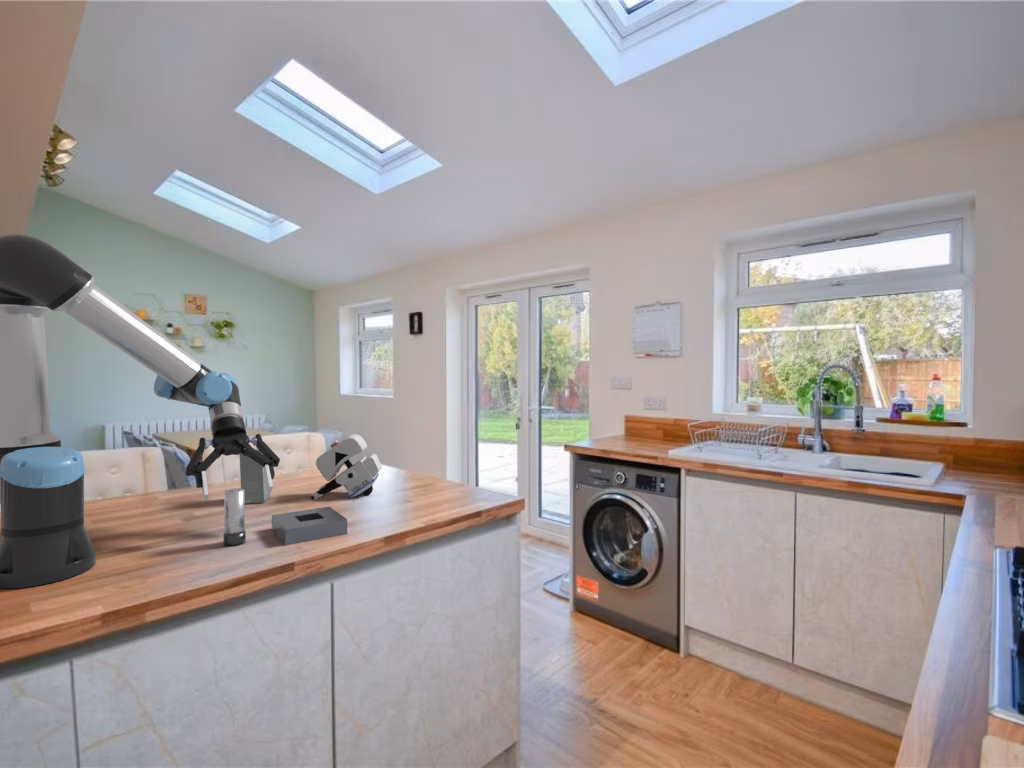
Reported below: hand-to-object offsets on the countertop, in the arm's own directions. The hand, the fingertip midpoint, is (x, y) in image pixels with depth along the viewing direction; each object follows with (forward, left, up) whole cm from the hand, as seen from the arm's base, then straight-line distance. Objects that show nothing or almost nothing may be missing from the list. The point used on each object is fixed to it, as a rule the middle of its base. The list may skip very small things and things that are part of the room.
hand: (239, 493), depth 119 cm
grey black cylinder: (-2, -5, -10) cm, 11 cm away
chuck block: (+14, -6, -10) cm, 18 cm away
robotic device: (+34, +24, -10) cm, 43 cm away
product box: (+9, +33, -10) cm, 36 cm away
